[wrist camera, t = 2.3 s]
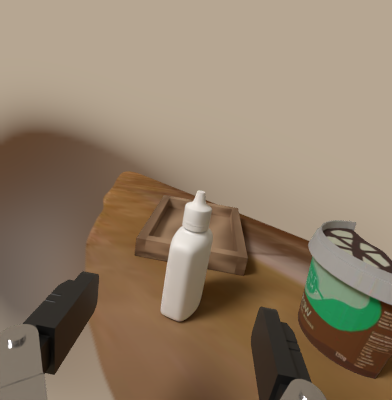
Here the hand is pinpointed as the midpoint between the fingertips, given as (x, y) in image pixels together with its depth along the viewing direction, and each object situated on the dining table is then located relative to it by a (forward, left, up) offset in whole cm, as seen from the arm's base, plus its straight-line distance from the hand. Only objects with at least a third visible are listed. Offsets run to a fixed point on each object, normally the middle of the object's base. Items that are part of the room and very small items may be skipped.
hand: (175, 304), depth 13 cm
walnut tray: (0, -28, -10) cm, 29 cm away
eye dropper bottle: (0, -12, -10) cm, 15 cm away
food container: (-14, -12, -10) cm, 21 cm away
